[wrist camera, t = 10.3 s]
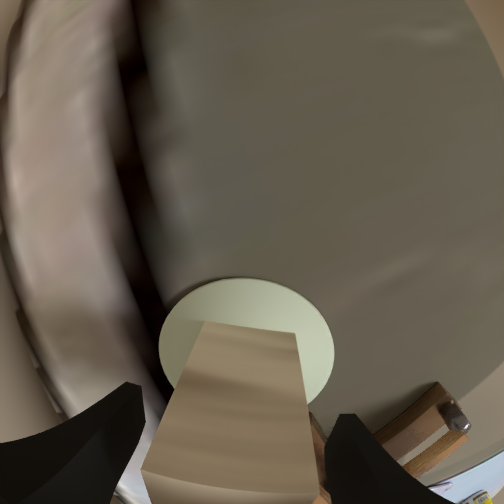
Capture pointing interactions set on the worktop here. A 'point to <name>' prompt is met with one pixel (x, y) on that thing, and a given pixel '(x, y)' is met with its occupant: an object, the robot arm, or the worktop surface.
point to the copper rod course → (408, 435)
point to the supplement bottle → (479, 498)
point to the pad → (249, 324)
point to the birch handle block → (235, 424)
